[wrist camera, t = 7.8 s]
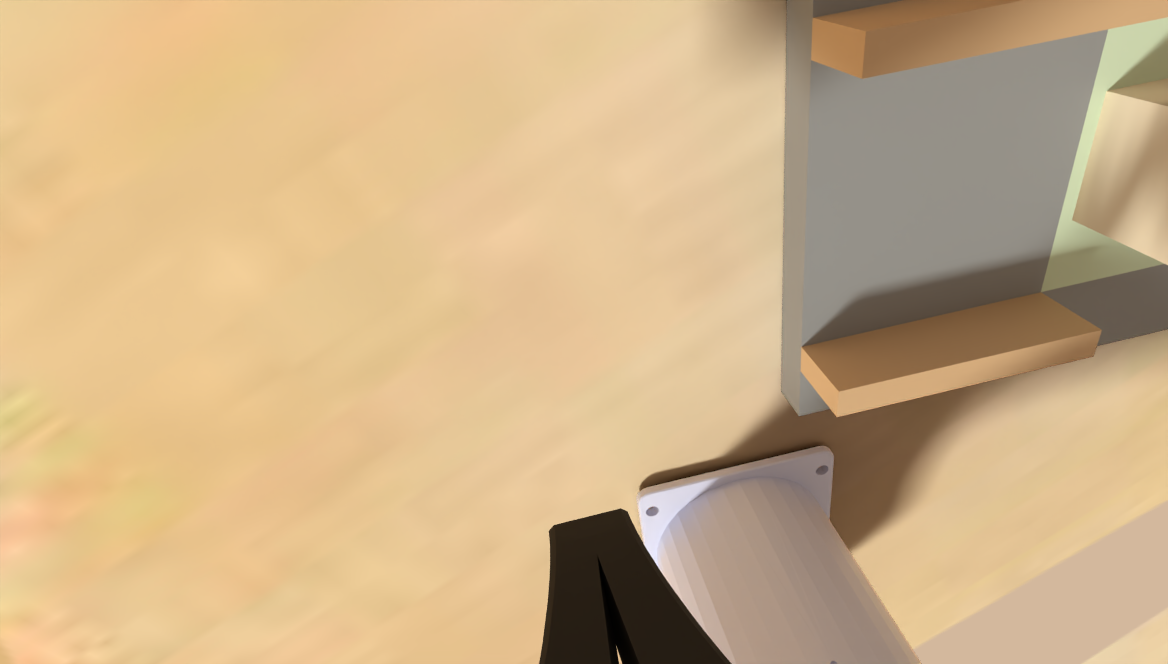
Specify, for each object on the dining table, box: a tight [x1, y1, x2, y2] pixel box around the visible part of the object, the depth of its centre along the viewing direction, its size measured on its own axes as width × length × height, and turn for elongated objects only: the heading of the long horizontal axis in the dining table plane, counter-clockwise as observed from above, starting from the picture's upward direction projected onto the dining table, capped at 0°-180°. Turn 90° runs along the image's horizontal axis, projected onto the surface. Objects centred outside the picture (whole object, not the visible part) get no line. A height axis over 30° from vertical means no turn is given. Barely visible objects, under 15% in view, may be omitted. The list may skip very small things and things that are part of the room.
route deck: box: [781, 0, 1168, 417], centre depth 20 cm, size 15×20×4 cm
